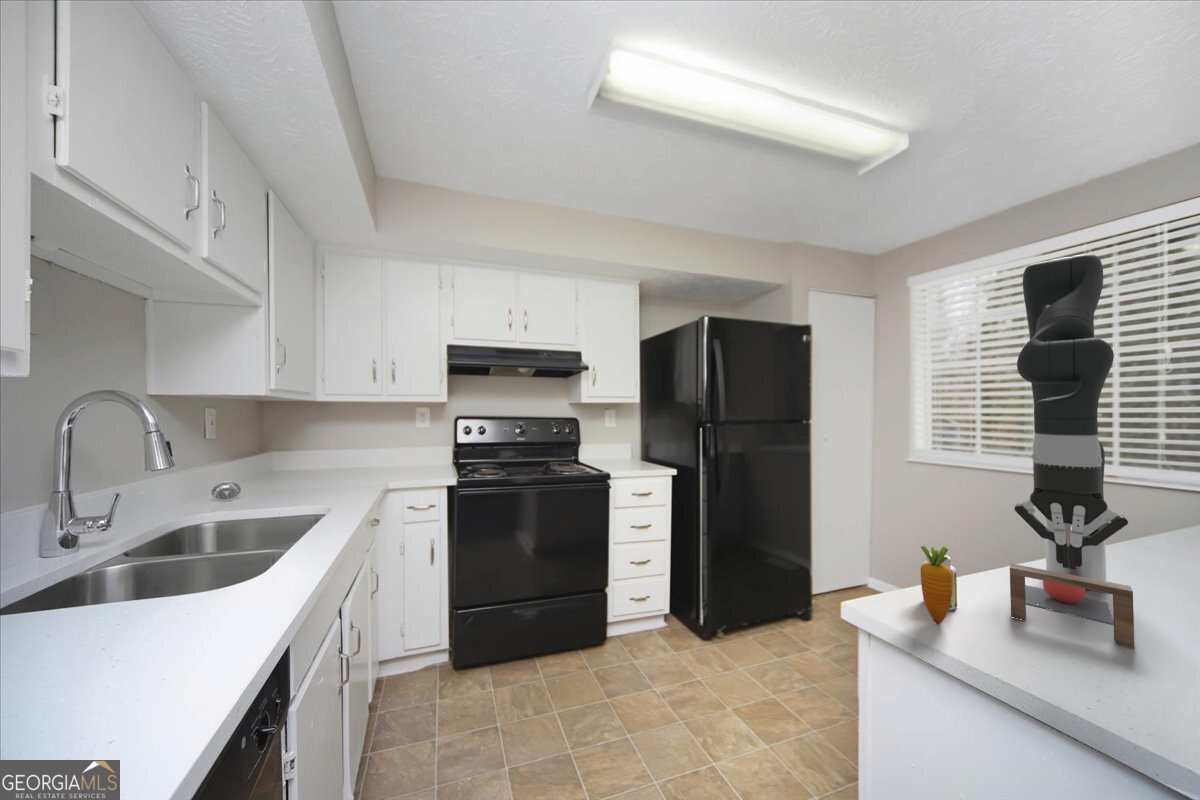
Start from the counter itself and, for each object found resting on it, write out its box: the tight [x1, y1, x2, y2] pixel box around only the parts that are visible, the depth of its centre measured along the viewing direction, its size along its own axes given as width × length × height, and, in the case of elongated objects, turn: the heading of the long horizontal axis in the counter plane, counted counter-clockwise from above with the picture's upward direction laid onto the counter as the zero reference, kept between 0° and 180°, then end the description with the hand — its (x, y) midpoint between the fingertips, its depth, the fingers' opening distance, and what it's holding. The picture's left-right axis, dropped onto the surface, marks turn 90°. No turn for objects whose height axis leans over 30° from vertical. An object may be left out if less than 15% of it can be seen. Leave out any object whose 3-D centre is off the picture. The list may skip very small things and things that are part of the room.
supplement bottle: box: [921, 552, 958, 611], centre depth 88 cm, size 6×6×10 cm
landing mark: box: [1025, 584, 1114, 626], centre depth 87 cm, size 12×12×1 cm
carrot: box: [920, 545, 953, 625], centre depth 80 cm, size 5×5×15 cm
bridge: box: [1009, 563, 1135, 649], centre depth 78 cm, size 3×15×10 cm, turn 44°
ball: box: [1042, 572, 1086, 604], centre depth 88 cm, size 6×6×6 cm
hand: (1068, 567), depth 69 cm, fingers closed
